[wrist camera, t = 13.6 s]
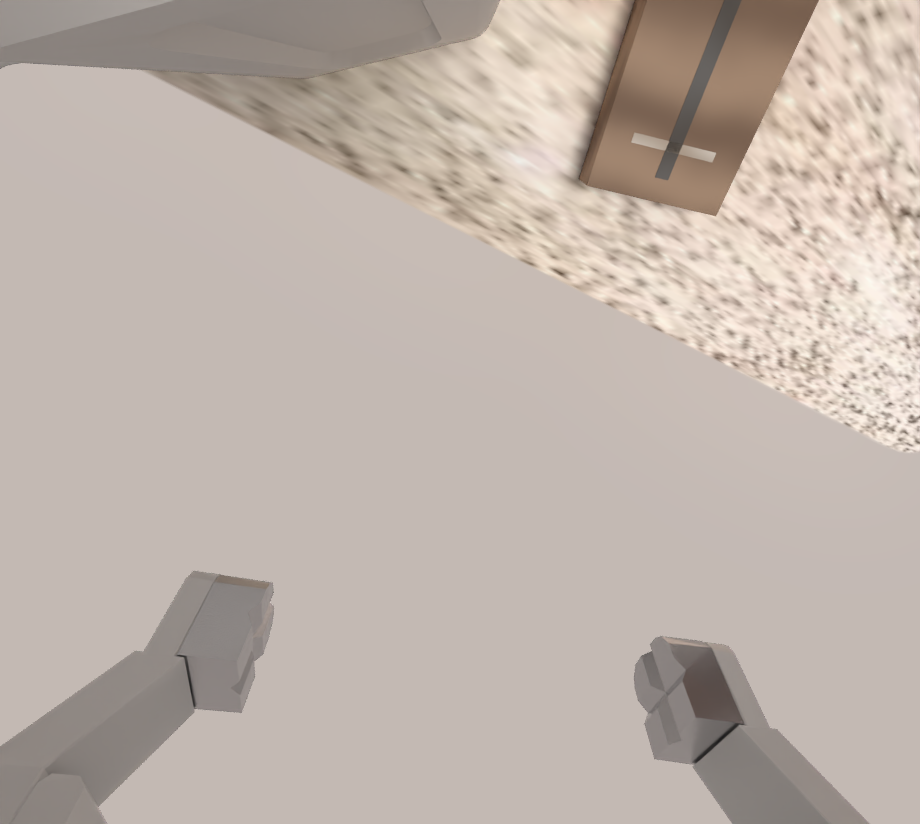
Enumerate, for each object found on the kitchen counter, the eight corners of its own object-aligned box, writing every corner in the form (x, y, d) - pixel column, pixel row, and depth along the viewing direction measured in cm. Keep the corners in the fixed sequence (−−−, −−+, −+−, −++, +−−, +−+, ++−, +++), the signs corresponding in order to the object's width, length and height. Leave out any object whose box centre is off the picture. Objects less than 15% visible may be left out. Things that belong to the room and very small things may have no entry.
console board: (699, 207, 38) (716, 216, 36) (578, 178, 37) (586, 185, 35) (891, -215, 26) (936, -247, 24) (721, -275, 25) (749, -315, 23)
